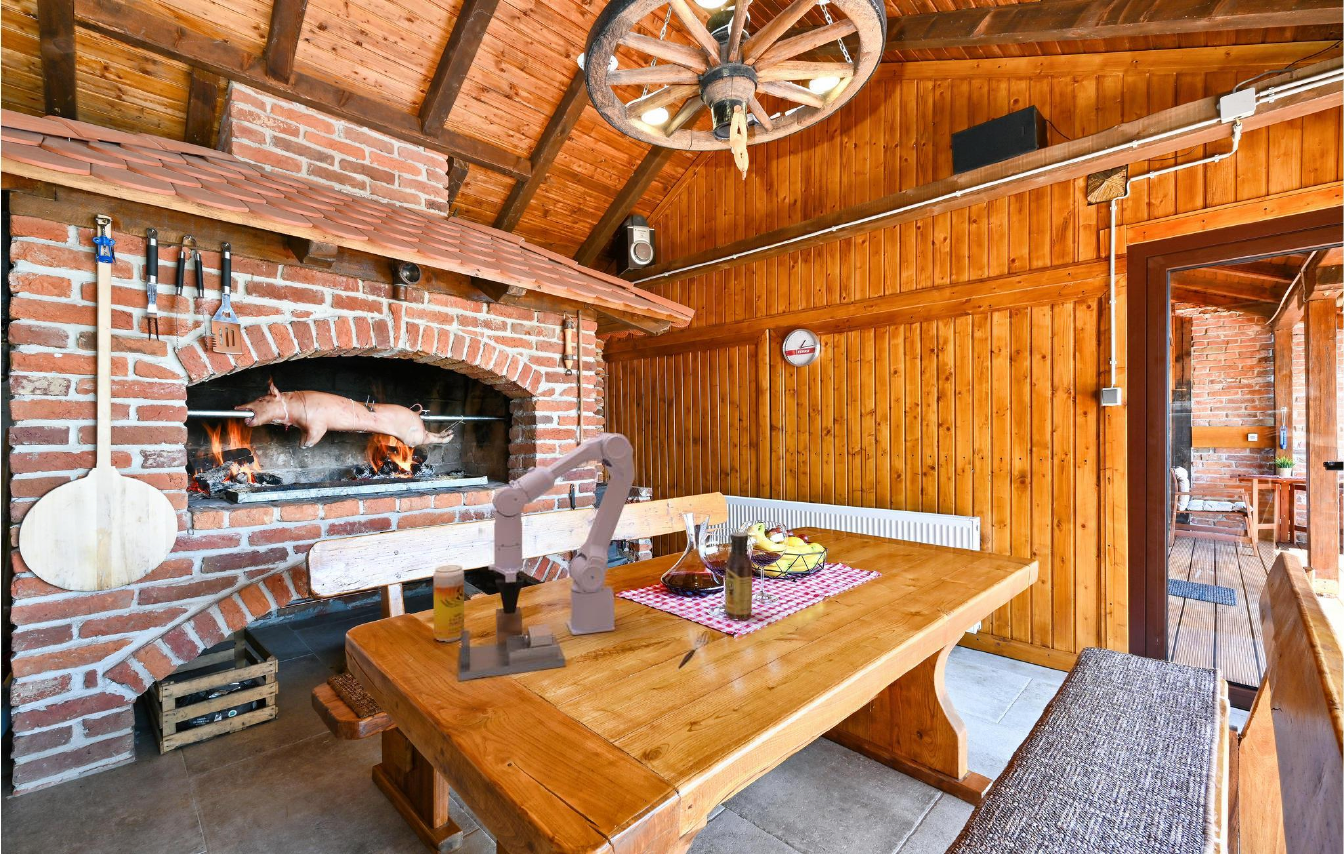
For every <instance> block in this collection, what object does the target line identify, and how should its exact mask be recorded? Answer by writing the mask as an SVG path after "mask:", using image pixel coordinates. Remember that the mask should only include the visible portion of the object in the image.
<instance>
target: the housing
mask: <svg viewBox="0 0 1344 854" xmlns="http://www.w3.org/2000/svg"><path fill="white" fill-rule="evenodd" d="M518 635H523V613H522V609H521V606H517V607H516V611H515V613H510V614H505V613H504V609H503V607H502V608H496V609H495V638H496V644H498V643H507V637H509V636H518Z"/></svg>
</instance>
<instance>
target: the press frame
mask: <svg viewBox="0 0 1344 854" xmlns="http://www.w3.org/2000/svg"><path fill="white" fill-rule="evenodd" d="M550 631H551V633H552V646H544V647H536V648H529V647H525V648H524V643H523V635H524V634H522V635H518V636H509V637H507V643H498V644H497V643H494V644H493V643H492V644H484V645H475V646H471V643H470V642H471V640H470V638H471V636H470V635H471V634H470V630H464V631H461V638H460V647H459V648H458V668H457V670H458V671H457V672H458V673H457V674H458V675H457V676H458V677H457V679H458V682H462V681H468V680H469V681H470V680H476V679H475V678H478V679H483V678H482V677H485V678H488V677H487V676H492V677H497V676H506V675H510V674H511V675H512V674H520V673H521V674H522V673H527V672H533V671H540V670H541V671H542V670H547V669H548V670H549V669H555V668H561V667H562V668H563V667H566V658H565V655H564V653H563V651H562V648H561V646H560V643H559V642H558V638H557V636H554V635H553V631H552V630H550Z"/></svg>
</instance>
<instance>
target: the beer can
mask: <svg viewBox="0 0 1344 854" xmlns="http://www.w3.org/2000/svg"><path fill="white" fill-rule="evenodd" d="M461 631H465V571H464V570H463V566H462V565H458V564H447V565H442V566H438V567H436V568H435V571H434V572H433V637H434V638H435V640H439V641H445V642H444V643H451V642H455V641H458V640H461ZM439 641H438V642H439Z"/></svg>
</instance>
